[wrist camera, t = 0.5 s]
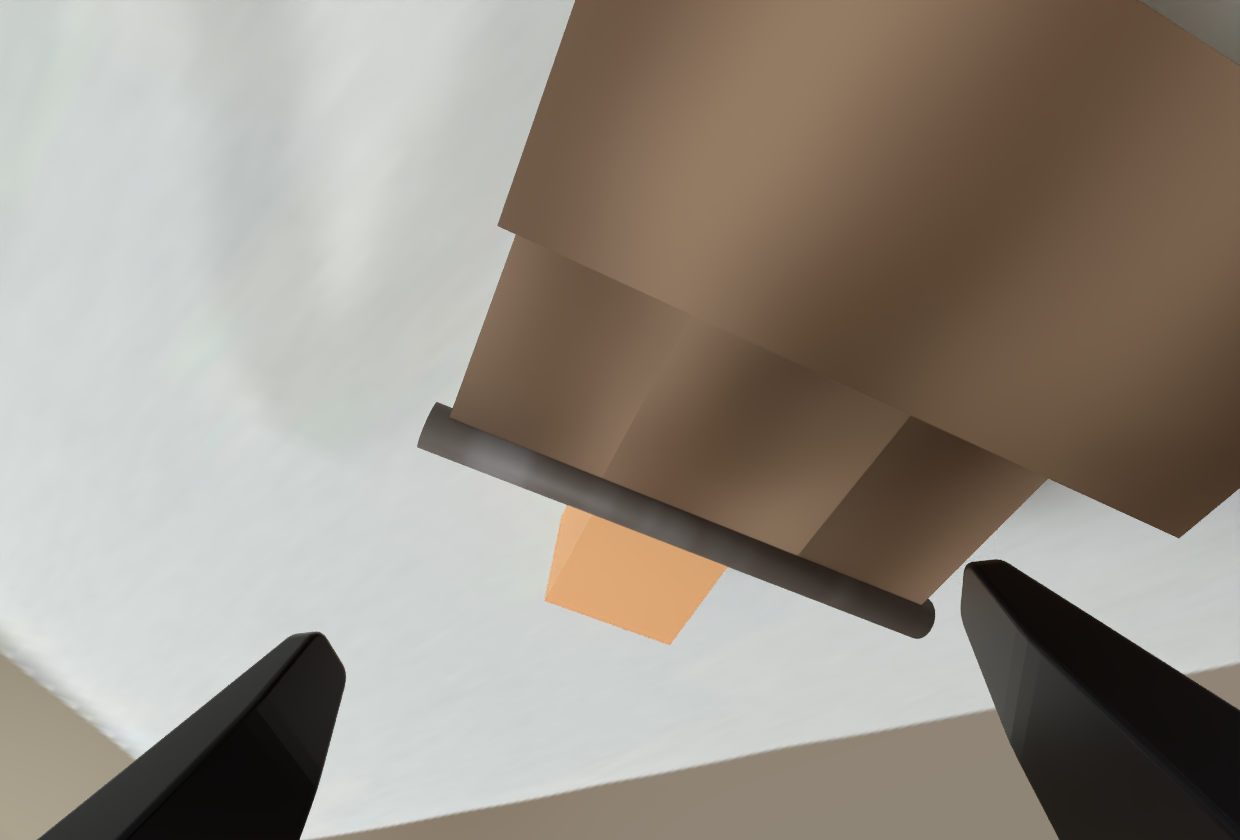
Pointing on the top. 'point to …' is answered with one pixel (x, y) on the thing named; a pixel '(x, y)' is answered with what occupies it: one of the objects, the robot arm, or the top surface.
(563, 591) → the orange rectangular block
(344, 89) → the top surface
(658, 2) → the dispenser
